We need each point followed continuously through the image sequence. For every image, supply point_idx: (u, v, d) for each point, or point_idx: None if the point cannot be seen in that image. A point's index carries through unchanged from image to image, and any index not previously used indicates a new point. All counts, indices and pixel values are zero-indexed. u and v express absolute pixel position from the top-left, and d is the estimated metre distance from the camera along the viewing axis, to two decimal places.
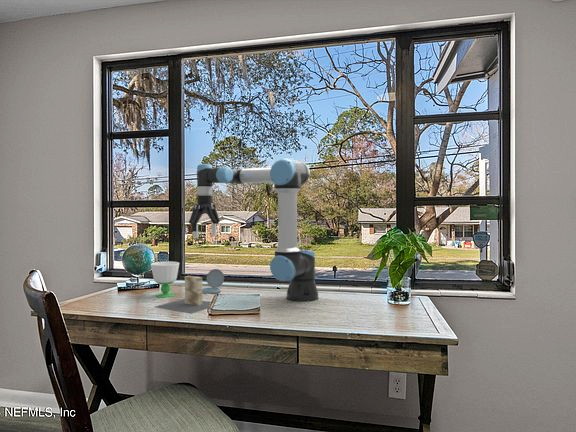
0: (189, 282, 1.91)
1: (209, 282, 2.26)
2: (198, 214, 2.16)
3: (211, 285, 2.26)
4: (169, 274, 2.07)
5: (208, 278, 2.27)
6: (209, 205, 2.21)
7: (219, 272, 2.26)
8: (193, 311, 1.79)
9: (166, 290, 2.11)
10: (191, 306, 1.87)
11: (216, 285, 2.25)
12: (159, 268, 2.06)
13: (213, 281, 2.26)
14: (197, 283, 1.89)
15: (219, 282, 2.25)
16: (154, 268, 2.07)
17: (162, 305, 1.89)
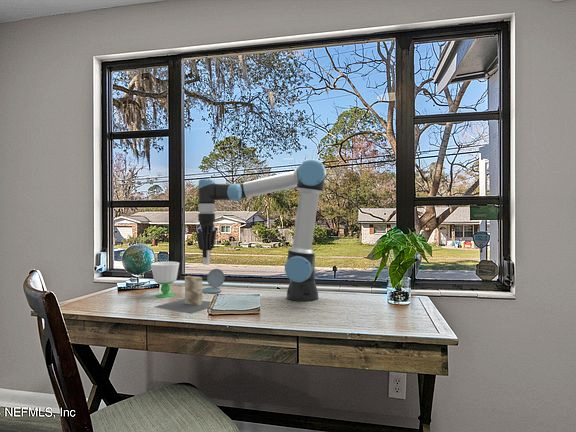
0: (189, 282, 1.91)
1: (210, 282, 2.27)
2: (203, 237, 1.97)
3: (212, 285, 2.26)
4: (169, 274, 2.07)
5: (209, 278, 2.28)
6: (212, 223, 2.01)
7: (220, 272, 2.27)
8: (193, 311, 1.79)
9: (166, 290, 2.11)
10: (191, 306, 1.87)
11: (217, 285, 2.26)
12: (159, 268, 2.06)
13: (214, 281, 2.27)
14: (197, 283, 1.89)
15: (220, 282, 2.26)
16: (154, 268, 2.07)
17: (162, 305, 1.89)
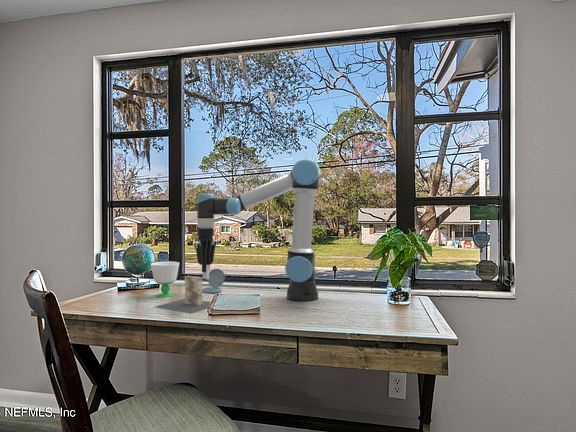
0: (189, 282, 1.91)
1: (210, 282, 2.27)
2: (203, 252, 1.97)
3: (212, 285, 2.27)
4: (169, 274, 2.07)
5: (209, 278, 2.28)
6: (211, 237, 2.00)
7: (220, 272, 2.27)
8: (193, 311, 1.79)
9: (166, 290, 2.11)
10: (191, 306, 1.87)
11: (217, 285, 2.26)
12: (159, 268, 2.06)
13: (214, 281, 2.27)
14: (197, 283, 1.89)
15: (220, 282, 2.26)
16: (154, 268, 2.07)
17: (162, 305, 1.89)
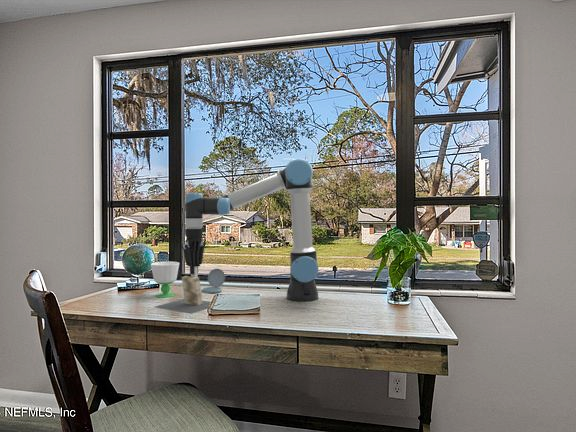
0: (187, 283, 1.90)
1: (210, 281, 2.28)
2: (191, 253, 1.91)
3: (212, 284, 2.27)
4: (169, 274, 2.07)
5: (209, 277, 2.28)
6: (200, 238, 1.94)
7: (220, 271, 2.28)
8: (193, 311, 1.79)
9: (166, 290, 2.11)
10: (191, 306, 1.87)
11: (217, 284, 2.27)
12: (159, 268, 2.06)
13: (214, 280, 2.28)
14: (195, 284, 1.88)
15: (220, 281, 2.27)
16: (154, 268, 2.07)
17: (162, 305, 1.89)
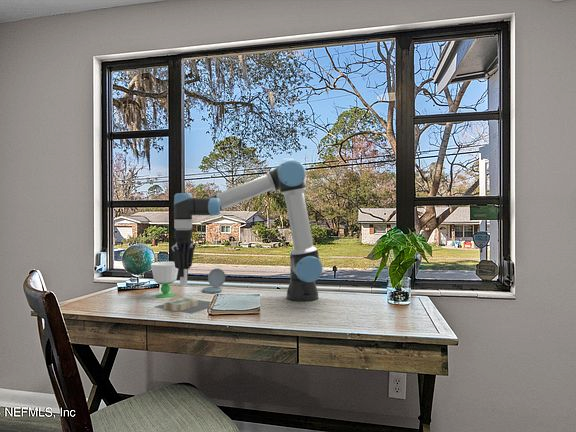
0: None
1: (210, 281, 2.28)
2: (180, 255, 1.85)
3: (212, 284, 2.28)
4: (169, 274, 2.07)
5: (209, 277, 2.29)
6: (189, 240, 1.88)
7: (220, 271, 2.28)
8: (193, 311, 1.79)
9: (166, 290, 2.11)
10: None
11: (217, 284, 2.27)
12: (159, 268, 2.06)
13: (214, 280, 2.28)
14: None
15: (220, 281, 2.27)
16: (154, 268, 2.07)
17: (162, 305, 1.89)
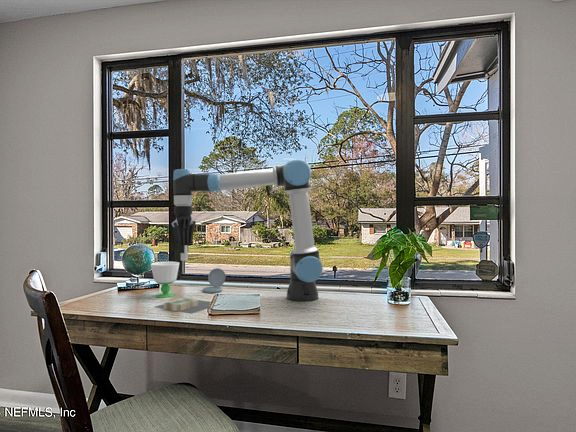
0: None
1: (211, 281, 2.29)
2: (180, 231, 1.84)
3: (213, 284, 2.28)
4: (169, 274, 2.07)
5: (210, 277, 2.29)
6: (189, 216, 1.88)
7: (220, 271, 2.29)
8: (193, 311, 1.79)
9: (166, 290, 2.11)
10: None
11: (218, 284, 2.28)
12: (159, 268, 2.06)
13: (215, 280, 2.29)
14: None
15: (221, 281, 2.28)
16: (154, 268, 2.07)
17: (162, 305, 1.89)
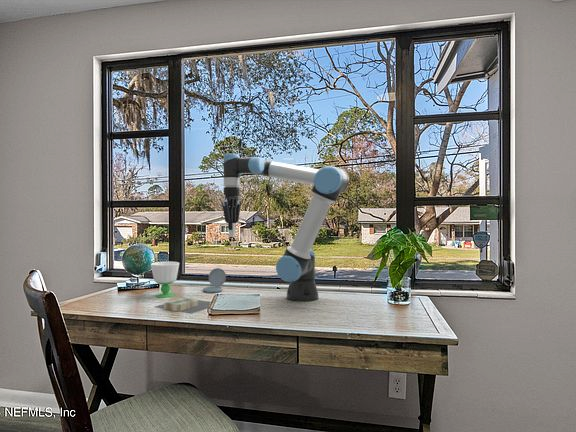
0: None
1: (211, 281, 2.29)
2: (229, 210, 2.03)
3: (213, 284, 2.29)
4: (169, 274, 2.07)
5: (210, 277, 2.30)
6: (237, 197, 2.06)
7: (221, 271, 2.29)
8: (193, 311, 1.79)
9: (166, 290, 2.11)
10: None
11: (218, 284, 2.28)
12: (159, 268, 2.06)
13: (215, 280, 2.29)
14: None
15: (221, 281, 2.28)
16: (154, 268, 2.07)
17: (162, 305, 1.89)
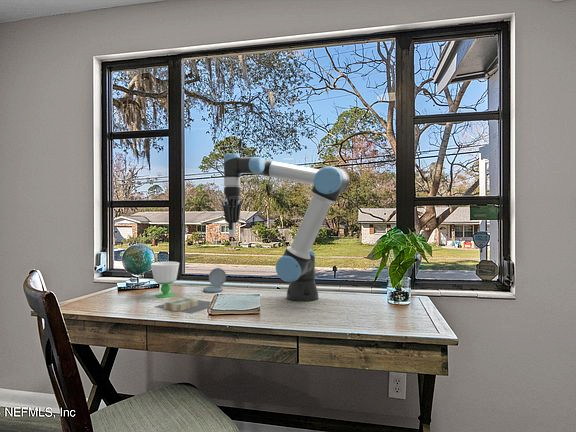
0: None
1: (211, 281, 2.30)
2: (229, 210, 2.03)
3: (213, 284, 2.29)
4: (169, 274, 2.07)
5: (210, 277, 2.30)
6: (237, 196, 2.07)
7: (221, 271, 2.30)
8: (193, 311, 1.79)
9: (166, 290, 2.11)
10: None
11: (218, 284, 2.29)
12: (159, 268, 2.06)
13: (215, 280, 2.30)
14: None
15: (221, 281, 2.29)
16: (154, 268, 2.07)
17: (162, 305, 1.89)
